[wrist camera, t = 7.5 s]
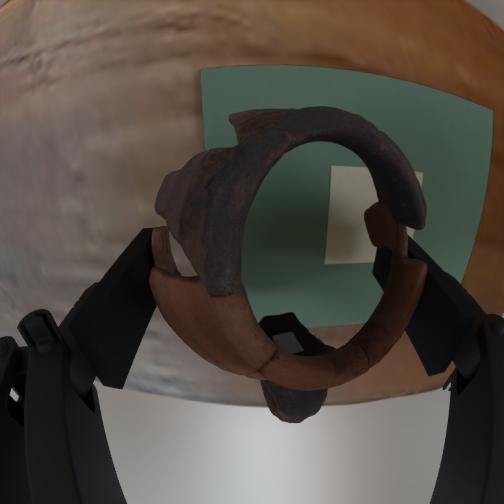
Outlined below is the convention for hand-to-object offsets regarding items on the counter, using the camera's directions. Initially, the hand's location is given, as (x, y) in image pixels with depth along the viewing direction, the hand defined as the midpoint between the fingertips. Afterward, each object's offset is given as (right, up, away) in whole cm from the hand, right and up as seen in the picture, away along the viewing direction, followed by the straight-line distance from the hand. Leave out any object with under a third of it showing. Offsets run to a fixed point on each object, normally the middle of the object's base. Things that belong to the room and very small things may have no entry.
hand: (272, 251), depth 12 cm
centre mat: (+5, +2, +1) cm, 6 cm away
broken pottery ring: (0, 0, 0) cm, 1 cm away
